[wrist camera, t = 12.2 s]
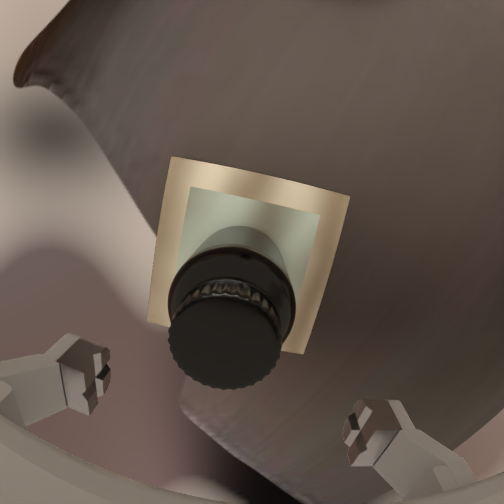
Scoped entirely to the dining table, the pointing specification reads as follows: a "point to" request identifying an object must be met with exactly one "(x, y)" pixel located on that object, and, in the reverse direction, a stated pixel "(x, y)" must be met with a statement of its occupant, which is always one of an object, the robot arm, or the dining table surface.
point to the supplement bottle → (231, 309)
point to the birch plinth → (255, 216)
